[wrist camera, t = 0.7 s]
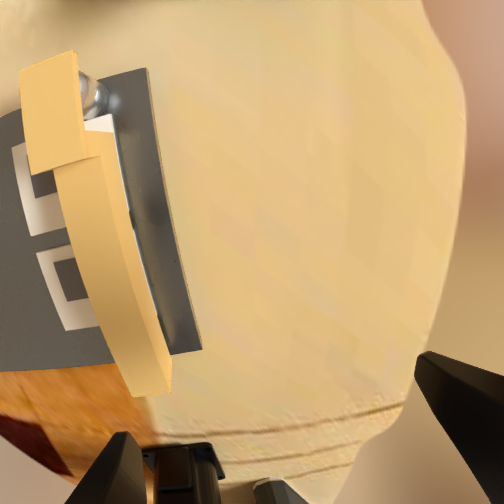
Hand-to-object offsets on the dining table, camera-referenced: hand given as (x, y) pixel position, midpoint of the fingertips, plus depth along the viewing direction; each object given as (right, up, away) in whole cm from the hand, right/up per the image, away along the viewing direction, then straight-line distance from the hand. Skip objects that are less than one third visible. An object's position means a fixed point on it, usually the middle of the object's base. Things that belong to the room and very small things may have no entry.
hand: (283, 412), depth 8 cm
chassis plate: (-16, +4, +7) cm, 18 cm away
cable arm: (-8, +5, +7) cm, 11 cm away
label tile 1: (-9, +3, +8) cm, 13 cm away
